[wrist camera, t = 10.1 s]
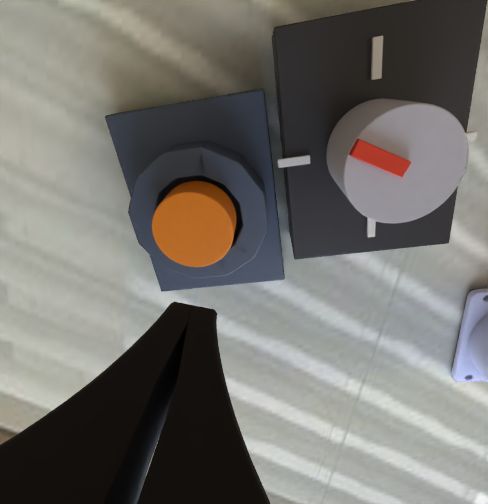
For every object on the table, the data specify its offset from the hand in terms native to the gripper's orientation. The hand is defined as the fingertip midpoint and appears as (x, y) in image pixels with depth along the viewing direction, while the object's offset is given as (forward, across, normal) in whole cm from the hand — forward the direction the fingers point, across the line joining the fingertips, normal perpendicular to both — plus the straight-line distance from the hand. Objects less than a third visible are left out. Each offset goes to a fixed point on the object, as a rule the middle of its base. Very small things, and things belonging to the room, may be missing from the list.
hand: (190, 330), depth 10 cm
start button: (+7, +1, -1) cm, 7 cm away
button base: (+10, +1, -1) cm, 10 cm away
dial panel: (+10, -6, -6) cm, 13 cm away
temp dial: (+7, -6, -6) cm, 11 cm away
